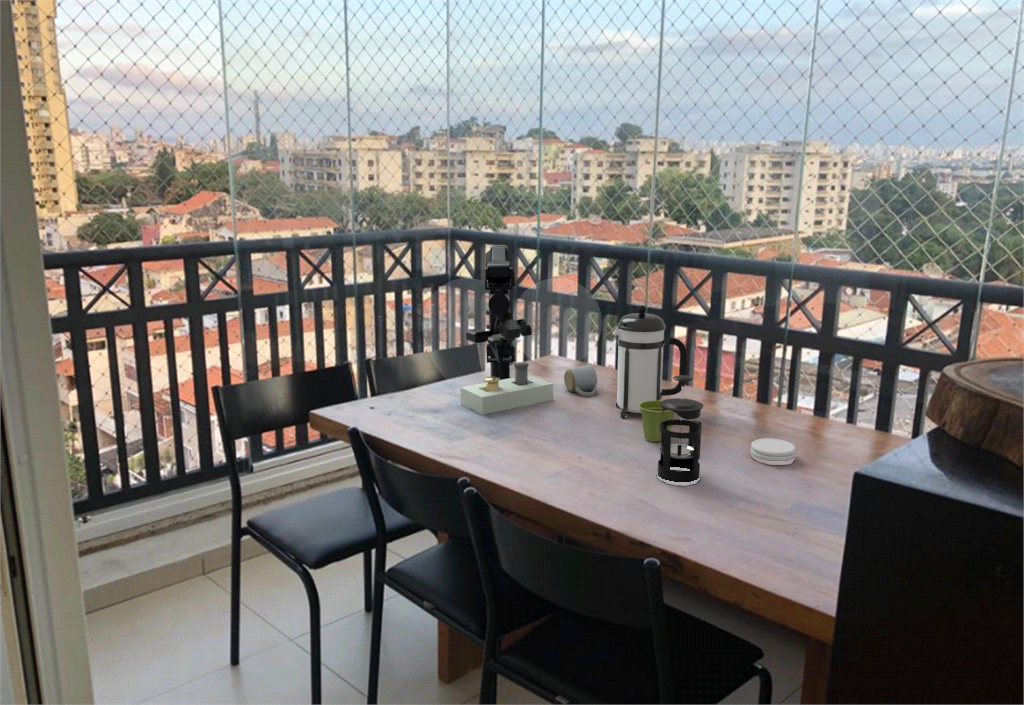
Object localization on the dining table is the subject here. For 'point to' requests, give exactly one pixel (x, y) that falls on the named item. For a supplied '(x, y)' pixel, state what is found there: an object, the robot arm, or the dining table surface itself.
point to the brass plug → (492, 383)
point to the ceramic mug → (581, 380)
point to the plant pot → (654, 419)
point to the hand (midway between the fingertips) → (499, 362)
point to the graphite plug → (521, 373)
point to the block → (506, 395)
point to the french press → (680, 452)
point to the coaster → (773, 449)
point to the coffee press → (643, 360)
